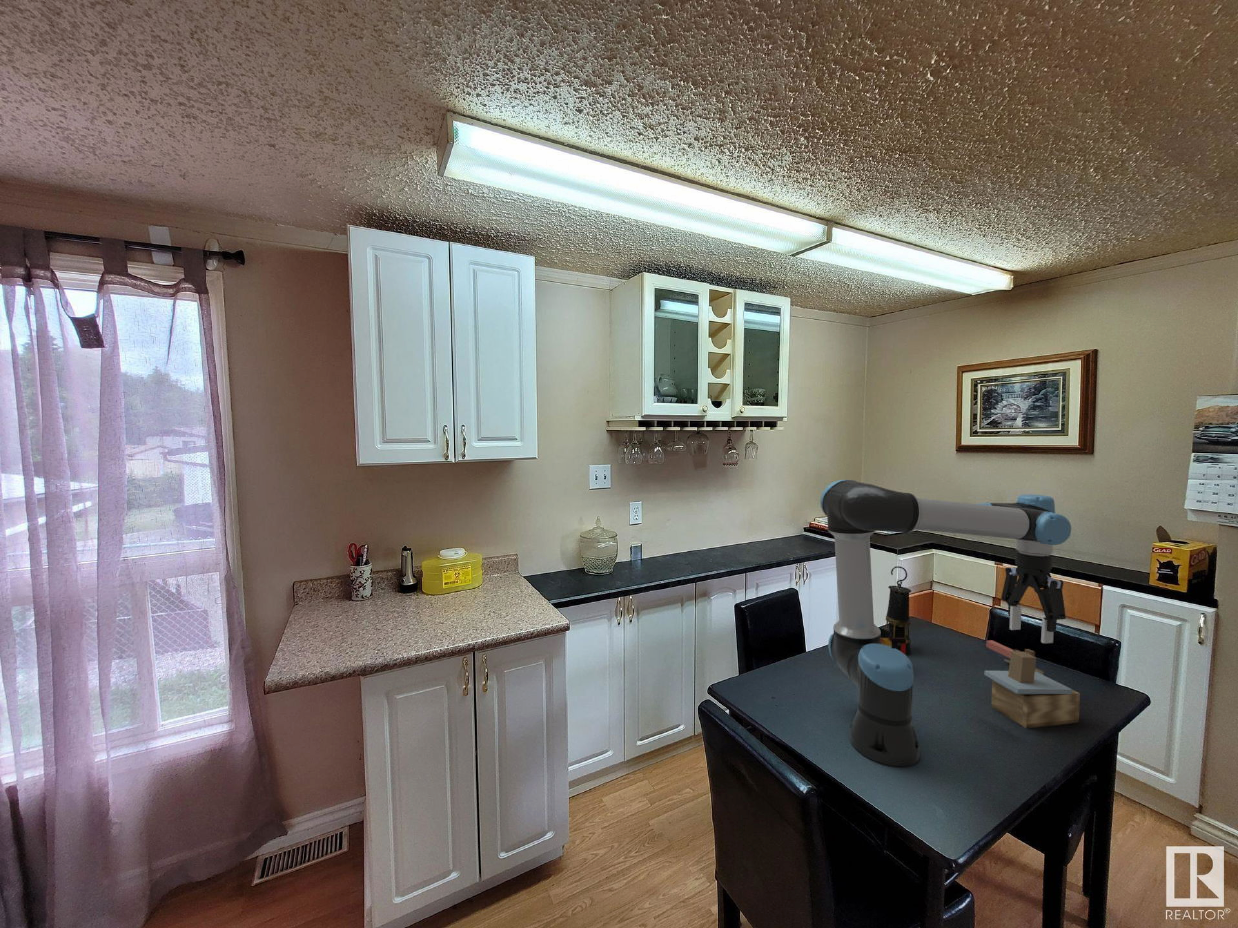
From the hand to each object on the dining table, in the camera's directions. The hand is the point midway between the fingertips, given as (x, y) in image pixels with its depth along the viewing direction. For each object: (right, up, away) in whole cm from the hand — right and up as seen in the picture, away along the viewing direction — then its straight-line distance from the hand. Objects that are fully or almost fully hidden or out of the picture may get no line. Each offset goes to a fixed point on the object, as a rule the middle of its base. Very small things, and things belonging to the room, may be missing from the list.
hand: (1030, 635), depth 130 cm
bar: (+7, -12, +15) cm, 21 cm away
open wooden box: (+2, -22, +2) cm, 22 cm away
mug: (-25, -21, +30) cm, 44 cm away
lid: (0, -14, +1) cm, 14 cm away
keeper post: (+7, -22, +11) cm, 25 cm away
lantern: (-12, -20, +42) cm, 48 cm away
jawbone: (+16, -22, +21) cm, 35 cm away
